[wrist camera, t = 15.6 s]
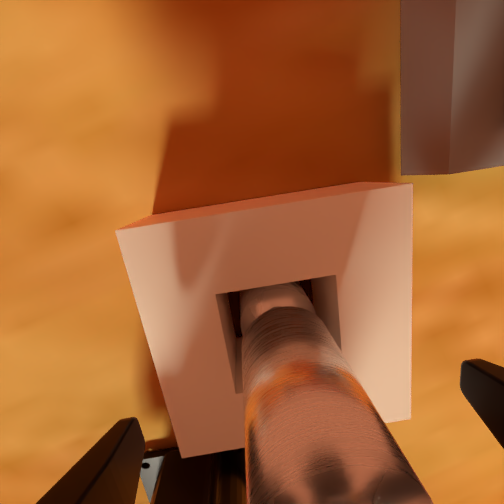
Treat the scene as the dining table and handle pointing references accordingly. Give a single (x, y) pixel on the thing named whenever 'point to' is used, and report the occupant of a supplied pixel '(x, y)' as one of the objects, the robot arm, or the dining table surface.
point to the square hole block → (265, 274)
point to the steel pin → (311, 413)
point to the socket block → (452, 86)
